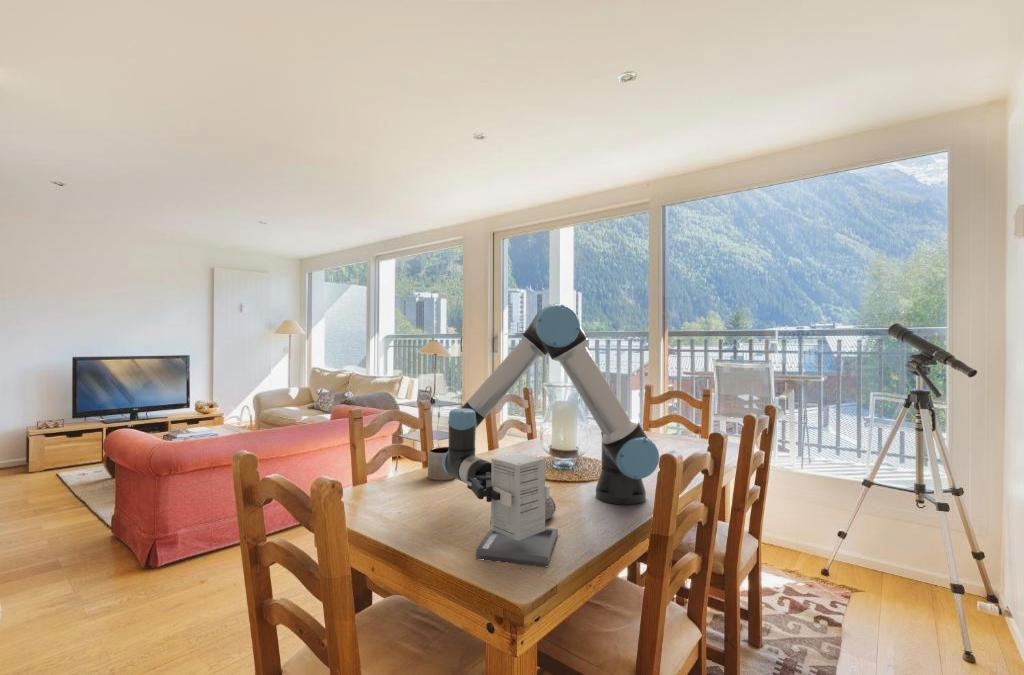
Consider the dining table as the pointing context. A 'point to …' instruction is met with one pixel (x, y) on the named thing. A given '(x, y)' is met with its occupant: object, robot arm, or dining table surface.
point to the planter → (437, 464)
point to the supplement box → (519, 495)
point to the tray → (518, 548)
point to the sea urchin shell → (549, 507)
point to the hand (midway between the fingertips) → (529, 496)
